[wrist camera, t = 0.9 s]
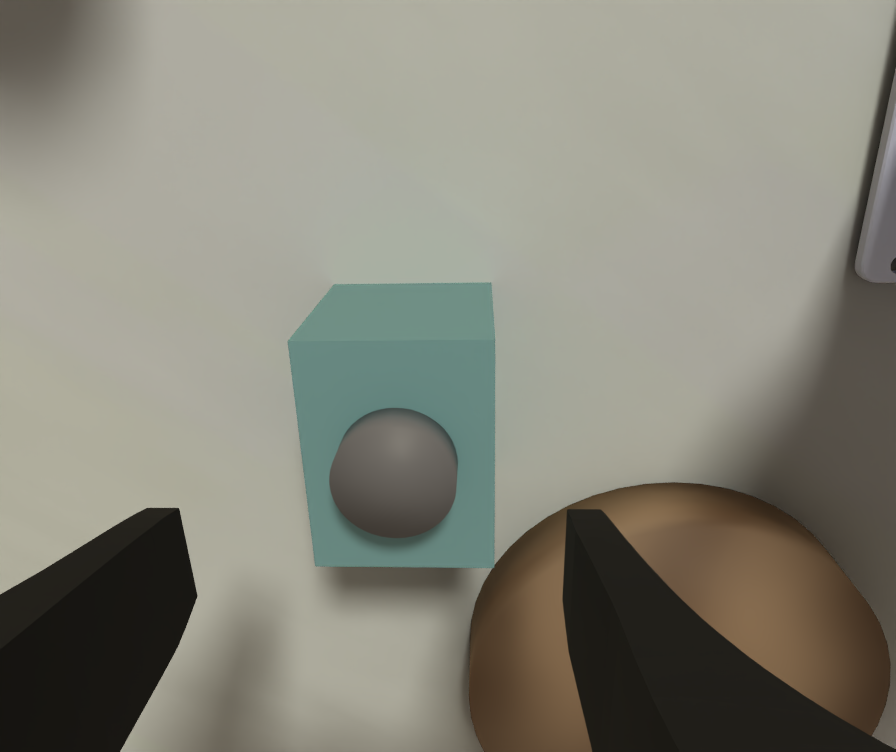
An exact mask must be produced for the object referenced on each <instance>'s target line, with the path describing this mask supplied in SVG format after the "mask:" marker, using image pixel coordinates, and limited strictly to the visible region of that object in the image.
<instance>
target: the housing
mask: <svg viewBox="0 0 896 752" xmlns="http://www.w3.org/2000/svg"><path fill="white" fill-rule="evenodd" d="M288 348H289V356H290V364H291V372H292V380H293V389H294V397H295V405H296V413H297V421H298V429H299V437H300V446H301V454H302V462H303V470H304V478H305V486H306V494H307V503H308V511H309V519H310V527H311V535H312V543H313V551H314V560H315V566H329V567H438V568H494V517H495V330H494V316H493V301H492V286H491V283H418V284H335V285H333V286H332V288H331V289H330V290H329V291H328V293H327V294H326V295H325V296H324V297H323V299H322V300H321V301H320V302H319V304H318V305H317V306H316V307H315V308H314V310H313V311H312V312H311V313H310V315H309V316H308V317H307V318H306V319H305V321H304V322H303V323H302V324H301V326H300V327H299V328H298V329H297V330H296V332H295V333H294V334H293V335H292V337H291V338H290V339H289V340H288Z"/></svg>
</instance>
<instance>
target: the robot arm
mask: <svg viewBox="0 0 896 752" xmlns="http://www.w3.org/2000/svg"><path fill="white" fill-rule="evenodd" d="M895 258H896V69H895V74H894V79H893V83H892V88H891V93H890V98H889V102H888V107H887V112H886V117H885V122H884V126H883V131H882V136H881V141H880V145H879V150H878V155H877V160H876V164H875V169H874V174H873V179H872V183H871V188H870V193H869V198H868V203H867V207H866V212H865V217H864V222H863V226H862V231H861V236H860V241H859V245H858V250H857V255H856V260H855V270H856V272H857V275H858V276H860V277H861V278H862V279H864V280H866V281H869V282H874V283H896V270H893V271H891V263H892V261H893V259H895ZM196 599H197V592H196V587H195V582H194V578H193V573H192V568H191V563H190V558H189V554H188V549H187V544H186V539H185V535H184V530H183V525H182V520H181V515H180V511H179V508H146V509H144V510H142V511H140V512H138V513H136V514H135V515H133V516H131V517H129V518H127V519H126V520H124V521H122V522H121V523H119V524H117V525H116V526H114V527H112V528H111V529H109V530H107V531H106V532H104V533H102V534H101V535H99V536H98V537H96V538H94V539H93V540H91V541H90V542H88V543H86V544H85V545H83V546H81V547H80V548H78V549H77V550H75V551H73V552H72V553H70V554H68V555H67V556H65V557H64V558H62V559H60V560H59V561H57V562H55V563H54V564H52V565H51V566H49V567H47V568H46V569H44V570H42V571H41V572H39V573H37V574H35V575H34V576H32V577H30V578H28V579H27V580H25V581H23V582H21V583H20V584H18V585H16V586H14V587H13V588H11V589H9V590H7V591H6V592H4V593H2V594H0V752H120V750H121V749H122V747H123V745H124V743H125V742H126V740H127V738H128V736H129V734H130V733H131V731H132V729H133V727H134V725H135V724H136V722H137V720H138V718H139V716H140V715H141V713H142V711H143V709H144V708H145V706H146V704H147V702H148V700H149V699H150V697H151V695H152V693H153V691H154V690H155V688H156V686H157V684H158V682H159V681H160V679H161V677H162V675H163V673H164V671H165V670H166V668H167V666H168V664H169V662H170V660H171V659H172V657H173V655H174V653H175V651H176V649H177V647H178V645H179V643H180V640H181V638H182V635H183V633H184V630H185V628H186V625H187V623H188V620H189V618H190V615H191V612H192V609H193V607H194V604H195V601H196ZM562 601H563V610H564V619H565V627H566V635H567V643H568V651H569V656H570V660H571V665H572V669H573V673H574V677H575V682H576V686H577V690H578V694H579V698H580V703H581V707H582V711H583V715H584V719H585V723H586V727H587V732H588V736H589V740H590V744H591V748H592V752H896V749H894V748H892V747H890V746H888V745H886V744H884V743H883V742H881V741H879V740H877V739H875V738H874V737H872V736H870V735H869V734H867V733H865V732H863V731H862V730H860V729H858V728H857V727H855V726H853V725H851V724H850V723H848V722H846V721H845V720H843V719H841V718H839V717H838V716H836V715H834V714H833V713H831V712H829V711H828V710H826V709H825V708H823V707H821V706H820V705H818V704H817V703H815V702H814V701H812V700H810V699H809V698H807V697H806V696H804V695H803V694H801V693H800V692H798V691H797V690H795V689H794V688H792V687H791V686H789V685H788V684H787V683H785V682H784V681H782V680H781V679H779V678H778V677H776V676H775V675H773V674H772V673H770V672H769V671H768V670H766V669H765V668H763V667H762V666H761V665H759V664H758V663H757V662H755V661H754V660H753V659H751V658H750V657H749V656H747V655H746V654H745V653H743V652H742V651H741V650H740V649H738V648H737V647H736V646H735V645H734V644H732V643H731V642H730V641H729V640H727V639H726V638H725V637H724V636H722V635H721V634H720V633H719V632H717V631H716V630H715V629H714V628H713V627H711V626H710V625H709V624H708V623H707V622H706V621H704V620H703V619H702V618H701V617H700V616H699V615H698V614H697V613H696V612H695V611H694V610H693V609H691V608H690V607H689V606H688V605H687V604H686V603H685V602H684V601H683V600H682V599H681V598H680V597H679V596H678V595H677V594H676V593H675V592H674V591H673V590H672V589H671V588H670V587H669V586H668V585H667V584H666V583H665V582H664V581H663V580H662V578H661V577H660V576H659V575H658V574H657V573H656V572H655V571H654V570H653V569H652V568H651V567H650V566H649V565H648V564H647V562H646V561H645V560H644V559H643V558H642V557H641V556H640V555H639V553H638V552H637V551H636V550H635V549H634V548H633V546H632V545H631V544H630V543H629V542H628V541H627V539H626V538H625V537H624V536H623V535H622V533H621V532H620V531H619V530H618V528H617V527H616V526H615V525H614V524H613V522H612V521H611V520H610V519H609V517H608V516H607V515H606V514H605V513H604V512H603V511H602V510H601V509H567V518H566V538H565V557H564V577H563V597H562Z"/></svg>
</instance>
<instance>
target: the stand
mask: <svg viewBox="0 0 896 752" xmlns="http://www.w3.org/2000/svg"><path fill="white" fill-rule="evenodd" d="M567 509H601V510H602V511H603V512H604V513H605V514H606V515H607V516H608V517H609V519H610V520H611V521H612V522H613V524H614V525H615V526H616V527H617V528H618V530H619V531H620V532H621V533H622V535H623V536H624V537H625V538H626V539H627V541H628V542H629V543H630V544H631V545H632V546H633V548H634V549H635V550H636V551H637V552H638V553H639V555H640V556H641V557H642V558H643V559H644V560H645V561H646V562H647V564H648V565H649V566H650V567H651V568H652V569H653V570H654V571H655V572H656V573H657V574H658V575H659V576H660V577H661V578H662V580H663V581H664V582H665V583H666V584H667V585H668V586H669V587H670V588H671V589H672V590H673V591H674V592H675V593H676V594H677V595H678V596H679V597H680V598H681V599H682V600H683V601H684V602H685V603H686V604H687V605H688V606H689V607H690V608H691V609H693V610H694V611H695V612H696V613H697V614H698V615H699V616H700V617H701V618H702V619H703V620H704V621H706V622H707V623H708V624H709V625H710V626H711V627H713V628H714V629H715V630H716V631H717V632H719V633H720V634H721V635H722V636H724V637H725V638H726V639H727V640H729V641H730V642H731V643H732V644H734V645H735V646H736V647H737V648H738V649H740V650H741V651H742V652H743V653H745V654H746V655H747V656H749V657H750V658H751V659H753V660H754V661H755V662H757V663H758V664H759V665H761V666H762V667H763V668H765V669H766V670H768V671H769V672H770V673H772V674H773V675H775V676H776V677H778V678H779V679H781V680H782V681H784V682H785V683H787V684H788V685H789V686H791V687H792V688H794V689H795V690H797V691H798V692H800V693H801V694H803V695H804V696H806V697H807V698H809V699H810V700H812V701H814V702H815V703H817V704H818V705H820V706H821V707H823V708H825V709H826V710H828V711H829V712H831V713H833V714H834V715H836V716H838V717H839V718H841V719H843V720H845V721H846V722H848V723H850V724H851V725H853V726H855V727H857V728H858V729H860V730H862V731H863V732H865V733H867V734H869V735H870V736H871V735H872V734H873V732H874V730H875V729H876V727H877V725H878V723H879V720H880V718H881V715H882V713H883V710H884V708H885V705H886V701H887V696H888V691H889V686H890V658H889V652H888V646H887V642H886V639H885V636H884V633H883V631H882V628H881V625H880V623H879V621H878V619H877V618H876V616H875V614H874V612H873V611H872V609H871V607H870V606H869V604H868V603H867V601H866V600H865V599H864V598H863V596H862V595H861V594H860V592H859V591H858V590H857V589H856V587H855V586H854V585H853V584H852V582H851V581H850V580H849V578H848V577H847V576H846V575H845V573H844V572H843V571H842V570H841V568H840V567H839V566H838V564H837V563H836V562H835V561H834V559H833V558H832V557H831V555H830V554H829V553H828V552H827V550H826V549H825V548H824V547H823V546H822V545H821V543H820V542H819V541H818V540H817V539H816V537H815V536H814V535H813V534H812V533H811V532H810V531H808V530H807V529H806V528H805V527H804V526H803V525H801V524H800V523H799V522H798V521H797V520H796V519H794V518H793V517H791V516H789V515H788V514H786V513H785V512H783V511H781V510H780V509H778V508H777V507H775V506H773V505H771V504H768V503H766V502H764V501H762V500H759V499H757V498H755V497H753V496H750V495H746V494H743V493H740V492H737V491H733V490H730V489H726V488H721V487H715V486H709V485H703V484H691V483H655V484H643V485H637V486H631V487H625V488H619V489H615V490H612V491H608V492H605V493H601V494H597V495H594V496H591V497H589V498H586V499H584V500H581V501H579V502H576V503H574V504H571V505H569V506H567V507H565V508H563V509H562V510H560V511H558V512H556V513H554V514H552V515H551V516H549V517H547V518H545V519H544V520H543V521H541V522H540V523H538V524H537V525H535V526H534V527H533V528H531V529H530V530H528V531H527V532H526V533H525V534H524V535H523V536H521V537H520V538H519V539H518V540H517V541H516V542H515V543H514V544H513V545H512V546H511V547H510V548H509V549H508V550H507V551H506V552H505V553H504V555H503V556H502V557H501V558H500V559H499V561H498V562H497V563H496V564H495V566H494V568H493V569H492V571H491V572H490V574H489V575H488V577H487V579H486V580H485V582H484V584H483V586H482V589H481V591H480V593H479V596H478V598H477V601H476V604H475V608H474V612H473V616H472V620H471V634H470V673H469V702H470V711H471V718H472V722H473V725H474V729H475V732H476V735H477V737H478V740H479V742H480V744H481V746H482V748H483V750H484V752H592V748H591V744H590V740H589V736H588V732H587V727H586V723H585V719H584V715H583V711H582V707H581V703H580V698H579V694H578V690H577V686H576V682H575V677H574V673H573V669H572V665H571V660H570V656H569V651H568V643H567V635H566V627H565V619H564V610H563V601H562V597H563V577H564V557H565V538H566V518H567Z"/></svg>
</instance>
